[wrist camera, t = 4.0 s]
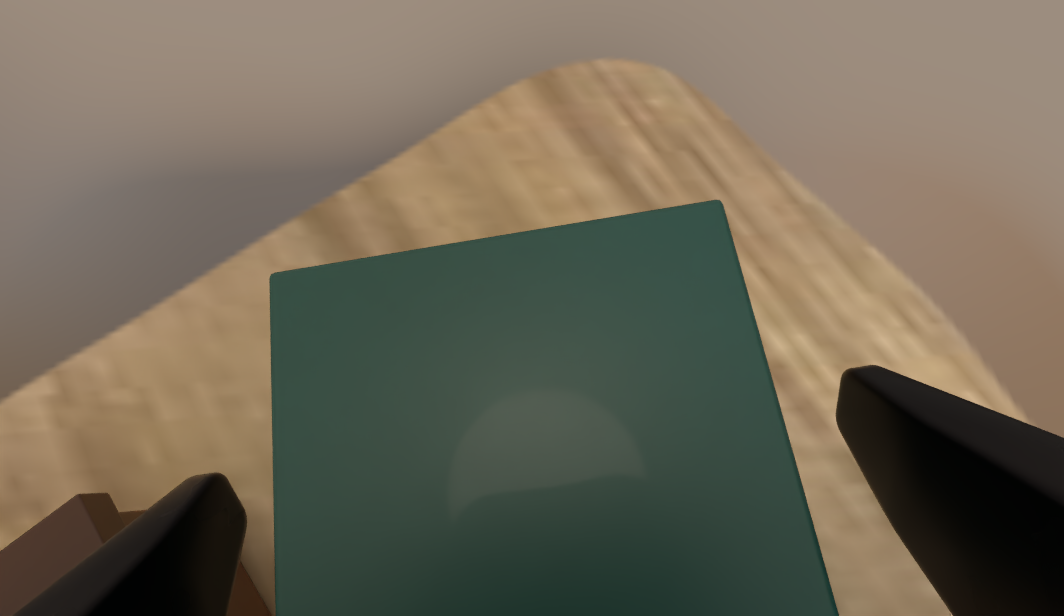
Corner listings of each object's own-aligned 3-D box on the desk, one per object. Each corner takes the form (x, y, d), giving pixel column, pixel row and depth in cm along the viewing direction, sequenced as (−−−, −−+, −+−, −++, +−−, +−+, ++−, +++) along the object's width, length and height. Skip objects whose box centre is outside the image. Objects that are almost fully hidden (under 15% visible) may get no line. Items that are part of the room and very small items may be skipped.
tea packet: (625, 365, 16) (724, 193, 6) (674, 603, 14) (924, 894, 4) (447, 394, 16) (264, 270, 6) (474, 635, 14) (275, 994, 4)
